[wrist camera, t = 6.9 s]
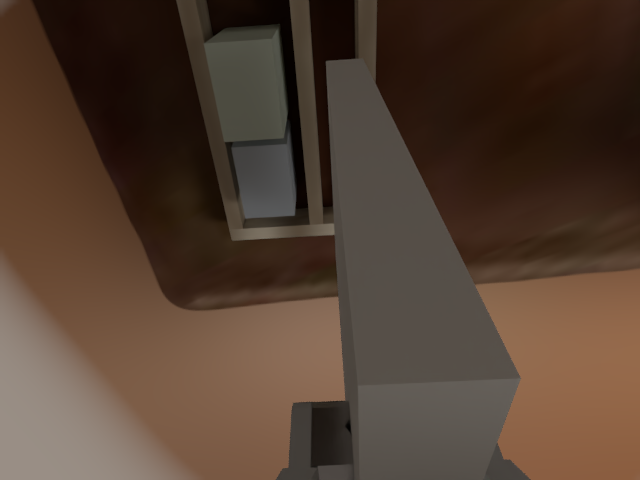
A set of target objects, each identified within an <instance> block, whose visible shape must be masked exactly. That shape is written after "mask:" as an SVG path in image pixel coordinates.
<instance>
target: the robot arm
mask: <svg viewBox="0 0 640 480" xmlns="http://www.w3.org/2000/svg"><path fill="white" fill-rule="evenodd" d="M276 480H354V460H353V447H352V435H351V424H350V407H349V401H330V402H329V401H328V402H299V403H293V406H292V414H291V433H290V450H289V468H284V469H282V471H281V472H280V474H279V476H278V477H277V479H276ZM483 480H530V479H529V478H528V477H527V476H526V475H525V474H524V473H523V472H522V471H521V470H520V469H519V468H518V467H517V466H516V465H515V464H514V463H513V462H512V461H511V460H504V459H503V456H502V454H501V452H500V449H499V446H498V443H497V444H496V447H495V449H494V452H493V455H492V457H491V460H490V463H489V466H488V468H487V471H486V474H485V476H484V479H483Z"/></svg>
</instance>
